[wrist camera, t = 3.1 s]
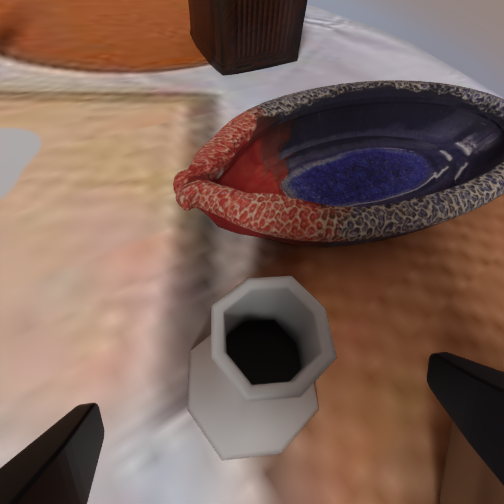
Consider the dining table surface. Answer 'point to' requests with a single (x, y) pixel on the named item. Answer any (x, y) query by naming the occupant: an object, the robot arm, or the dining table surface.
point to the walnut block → (468, 475)
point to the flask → (259, 367)
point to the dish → (350, 163)
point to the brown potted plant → (247, 32)
